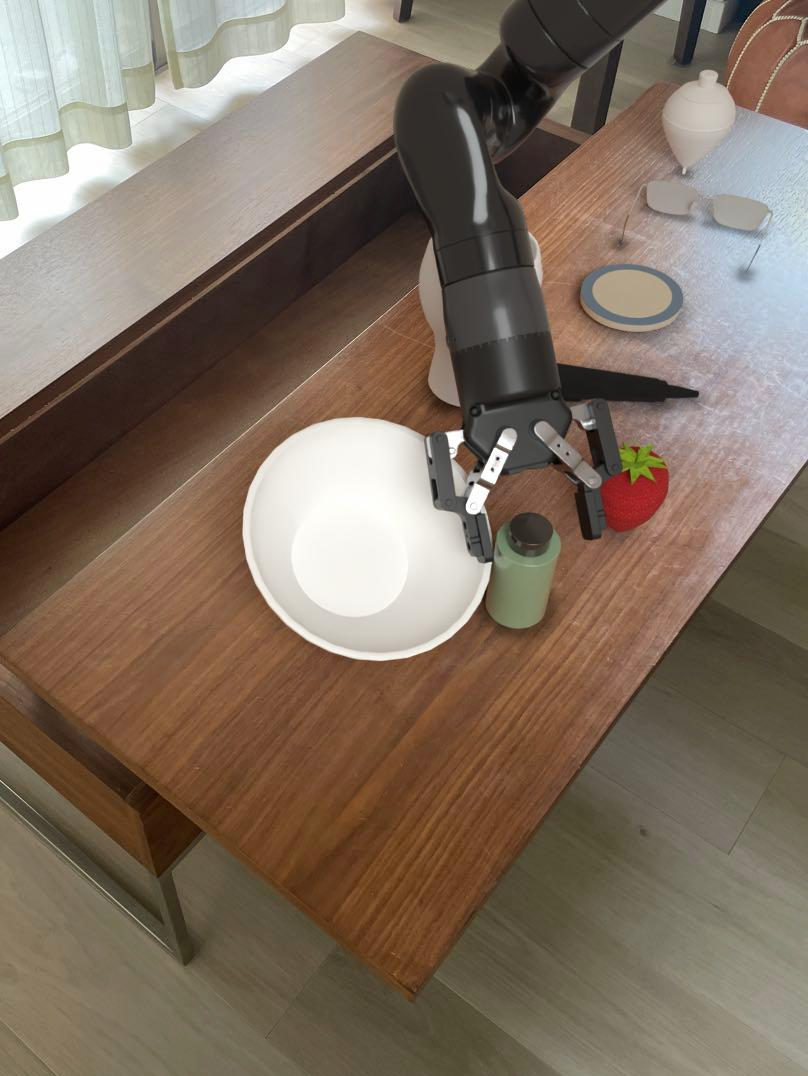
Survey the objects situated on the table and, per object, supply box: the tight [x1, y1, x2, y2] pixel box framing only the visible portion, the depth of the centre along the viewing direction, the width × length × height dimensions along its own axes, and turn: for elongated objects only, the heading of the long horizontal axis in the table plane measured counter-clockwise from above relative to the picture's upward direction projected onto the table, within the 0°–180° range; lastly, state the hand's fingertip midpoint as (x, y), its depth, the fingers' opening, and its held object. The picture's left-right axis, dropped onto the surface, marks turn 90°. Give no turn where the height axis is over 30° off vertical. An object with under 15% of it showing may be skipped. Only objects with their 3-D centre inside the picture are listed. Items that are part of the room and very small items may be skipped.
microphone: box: [557, 362, 700, 403], centre depth 102 cm, size 6×6×20 cm
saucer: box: [579, 263, 684, 333], centre depth 111 cm, size 10×10×2 cm
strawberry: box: [601, 438, 670, 533], centre depth 89 cm, size 6×8×10 cm
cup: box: [418, 231, 544, 408], centre depth 99 cm, size 11×11×15 cm
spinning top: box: [661, 69, 737, 175], centre depth 122 cm, size 8×8×12 cm
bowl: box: [242, 416, 493, 662], centre depth 86 cm, size 20×20×7 cm
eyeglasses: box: [620, 179, 774, 274], centre depth 117 cm, size 14×8×4 cm, turn 62°
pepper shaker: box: [484, 511, 562, 630], centre depth 85 cm, size 5×5×10 cm
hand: (539, 550), depth 83 cm, fingers open, 8 cm apart
